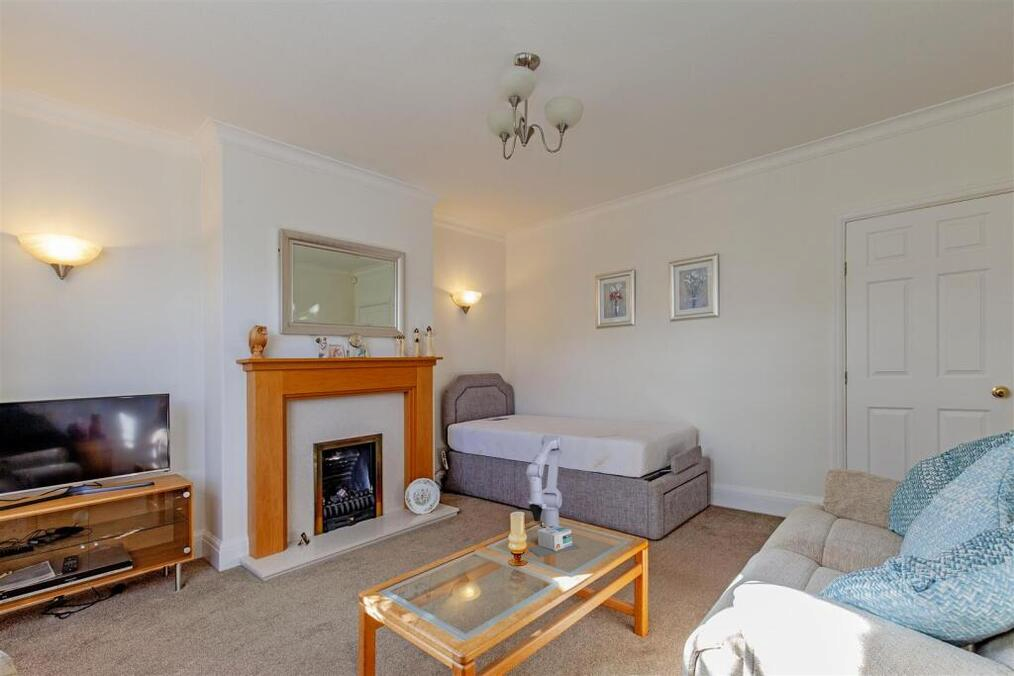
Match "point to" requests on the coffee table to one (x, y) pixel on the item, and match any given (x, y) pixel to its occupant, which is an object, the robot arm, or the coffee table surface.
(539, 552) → the mat
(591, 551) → the coffee table surface
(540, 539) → the light bulb box
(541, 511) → the robot arm
